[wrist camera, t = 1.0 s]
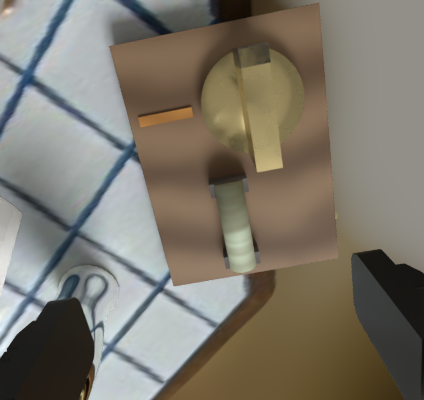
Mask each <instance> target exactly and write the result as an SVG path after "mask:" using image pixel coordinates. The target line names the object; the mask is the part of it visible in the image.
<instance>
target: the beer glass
mask: <svg viewBox="0 0 424 400" xmlns="http://www.w3.org/2000/svg"><path fill="white" fill-rule="evenodd" d="M73 297H76V298H77V299H78V300H79V301H80V303H81V306H82V309H83V311H84V314H85V317H86V320H87V323H88V325H89V328H90V331H91V334H92V337H93V340H94V346H95V354H94V360H93V363H92V366H91V369H90V371H89V374H88V376H87V379H86V382H85V384H84V387H83V390H82V392H81V395H80V398H79V400H89V399H90V396H91V393H92V390H93V388H94V385H95V382H96V378H97V375H98V372H99V368H100V362H101V356H102V349H103V340H104V330H105V323H106V319H107V317H108V315H109V314H110V312H111V311H112V310H113V308H114V307H115V305H116V303H117V301H118V298H119V287H118V284H117V282H116V280H115V278H114V277H113V276H112V275H111V274H110V273H109V272H107V271H106V270H104V269H102V268H100V267H97V266H93V265H80V266H77V267H74V268H72V269H70V270H69V271H67V272H66V273H65V274H64V276H63V277H62V279H61V281H60V283H59V286H58V290H57V293H56V296H55V298H54V300H60V299H66V298H73ZM54 300H53V301H54ZM37 318H38V317H37ZM37 318H36V319H37ZM36 319H35V320H34V321H36Z"/></svg>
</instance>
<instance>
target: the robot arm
mask: <svg viewBox="0 0 424 400" xmlns="http://www.w3.org/2000/svg"><path fill="white" fill-rule="evenodd" d="M351 262H352V263H351V264H352V282H353V299H354V305H355V310H356V313H357V316H358V319H359V321H360V323H361V325H362V326H363V328H364V330H365V332H366V333H367V335H368V337H369V338H370V340H371V342H372V344H373V345H374V347H375V349H376V350H377V352H378V354H379V356H380V357H381V359H382V361H383V362H384V364H385V366H386V367H387V369H388V371H389V373H390V375H391V376H392V378H393V380H394V381H395V383H396V385H397V386H398V388H399V390H400V392H401V393H402V395H403V397H404V398H405V400H424V273H422V272H421V271H419V270H417V269H414V268H413V267H411V266H409V265H407V264H398V265H395V264H394V262H393V261H392V260H391V259H390V258H389V257H388V256H387V255H386V254H385V253H384V252H383V251H382V250H381V249H377V250H371V251H365V252H358V253H353V255H352V258H351ZM94 354H95V346H94V340H93V337H92V334H91V331H90V328H89V325H88V323H87V320H86V317H85V314H84V311H83V309H82V306H81V303H80V301H79V300H78V299H77V298H76V297H73V298H66V299H60V300H54V301H49V302H48V303H47V304H46V306H45V307H44V309H43V310H42V312H41V313H40V315H39V316H38V318H37V319H36V321H32V322H31V323H30V324H28V325H27V326H26V327H25V328H24V329H23V330H22V331H20V332H19V333H18V334H17V335H16V336H15V338H14V339H13V341H12V342H11V344H10V345H9V347H8V348H7V352H4V354H3V355H2V357H1V358H0V400H79V398H80V395H81V392H82V390H83V387H84V384H85V382H86V379H87V376H88V374H89V371H90V369H91V366H92V363H93V360H94Z"/></svg>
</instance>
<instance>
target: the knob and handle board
mask: <svg viewBox="0 0 424 400" xmlns="http://www.w3.org/2000/svg"><path fill="white" fill-rule="evenodd" d="M264 42H268V44H269V49H272V50H274V51H276V52H279V53H280V54H282V55H283V56H285V57H286V58H287V59H288V60H289V61H290V62H291V63H292V64H293V65H294V66H295V68H296V69H297V71H298V73H299V75H300V77H301V80H302V83H303V87H304V96H305V100H304V108H303V113H302V116H301V118H300V121H299V123H298V125H297V126H296V128H295V129H294V131H293V132H292V133H291V134H290V136H289V137H288V138H287V139H285V140H284V141H283V142H282V143H280V147H281V155H282V163H283V168H279V169H273V170H268V171H262V172H257V171H256V169H255V166H254V164H253V162H252V159H251V157H250V155H249V153H245V152H239V151H235V150H233V149H230V148H228V147H226V146H225V145H223V144H222V143H221V142H219V141H218V140H217V139H216V138H215V137H214V136H213V135H212V133H211V132H210V131H209V129H208V127H207V125H206V123H205V121H204V118H203V114H202V108H201V95H202V89H203V85H204V82H205V80H206V77H207V75H208V73H209V72H210V70H211V69H212V67H213V66H214V65H215V64H216V63H217V62H218V61H219V60H220V59H221V58H222V57H224V56H225V55H227V54H228V53H230V52H232V49H233V48H238V47H243V46H248V45H253V44H257V43H264ZM109 47H110V51H111V54H112V58H113V62H114V65H115V69H116V73H117V77H118V80H119V84H120V88H121V92H122V95H123V99H124V103H125V106H126V110H127V114H128V118H129V121H130V125H131V129H132V133H133V136H134V140H135V144H136V148H137V151H138V155H139V159H140V162H141V166H142V170H143V174H144V177H145V181H146V185H147V189H148V192H149V196H150V200H151V203H152V207H153V211H154V215H155V218H156V222H157V226H158V230H159V233H160V237H161V241H162V245H163V248H164V252H165V256H166V259H167V263H168V267H169V271H170V274H171V278H172V282H173V286H179V285H185V284H191V283H197V282H202V281H208V280H214V279H220V278H226V277H231V276H237V275H243V274H249V273H255V272H261V271H266V270H272V269H278V268H284V267H289V266H295V265H301V264H307V263H313V262H319V261H324V260H330V259H336V258H338V247H337V233H336V220H335V207H334V194H333V181H332V168H331V154H330V141H329V127H328V116H327V115H328V114H327V102H326V88H325V74H324V61H323V49H322V35H321V22H320V9H319V3H316V4H311V5H306V6H301V7H297V8H291V9H287V10H282V11H277V12H272V13H267V14H263V15H258V16H253V17H248V18H243V19H238V20H233V21H229V22H224V23H219V24H214V25H209V26H204V27H200V28H195V29H190V30H185V31H180V32H175V33H171V34H166V35H161V36H156V37H151V38H146V39H142V40H137V41H132V42H127V43H122V44H117V45H113V46H109Z"/></svg>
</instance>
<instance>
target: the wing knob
mask: <svg viewBox="0 0 424 400" xmlns="http://www.w3.org/2000/svg"><path fill="white" fill-rule="evenodd" d="M304 100H305V96H304V87H303V83H302V80H301V77H300V75H299V73H298V71H297V69H296V68H295V66H294V65H293V64H292V63H291V62H290V61H289V60H288V59H287V58H286V57H285V56H283V55H282V54H280V53H279V52H276V51H274V50H272V49H269V44H268V42H264V43H257V44H253V45H248V46H243V47H238V48H233V49H232V52H230V53H228V54H227V55H225V56H224V57H222V58H221V59H220V60H219V61H218V62H217V63H216V64H215V65H214V66H213V67H212V69H211V70H210V72H209V73H208V75H207V77H206V80H205V82H204V85H203V89H202V95H201V108H202V114H203V118H204V121H205V123H206V125H207V127H208V129H209V131H210V132H211V133H212V135H213V136H214V137H215V138H216V139H217V140H218V141H219V142H221V143H222V144H223V145H225V146H226V147H228V148H230V149H233V150H235V151H239V152H245V153H249V155H250V157H251V159H252V162H253V164H254V166H255V169H256V171H257V172H262V171H268V170H273V169H279V168H283V163H282V155H281V147H280V143H282V142H283V141H284V140H285V139H287V138H288V137H289V136H290V134H291V133H292V132H293V131H294V129H295V128H296V126H297V125H298V123H299V121H300V118H301V116H302V113H303V108H304Z"/></svg>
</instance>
